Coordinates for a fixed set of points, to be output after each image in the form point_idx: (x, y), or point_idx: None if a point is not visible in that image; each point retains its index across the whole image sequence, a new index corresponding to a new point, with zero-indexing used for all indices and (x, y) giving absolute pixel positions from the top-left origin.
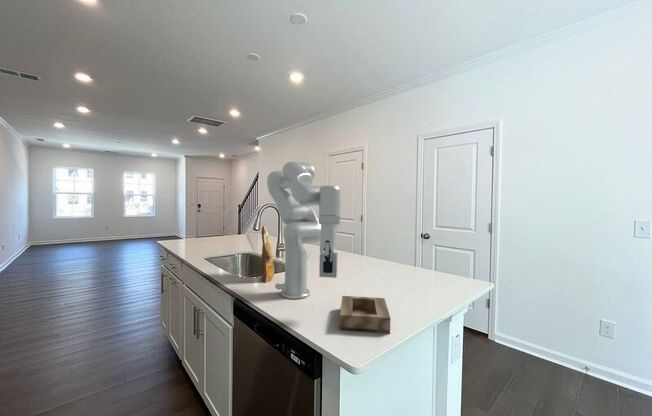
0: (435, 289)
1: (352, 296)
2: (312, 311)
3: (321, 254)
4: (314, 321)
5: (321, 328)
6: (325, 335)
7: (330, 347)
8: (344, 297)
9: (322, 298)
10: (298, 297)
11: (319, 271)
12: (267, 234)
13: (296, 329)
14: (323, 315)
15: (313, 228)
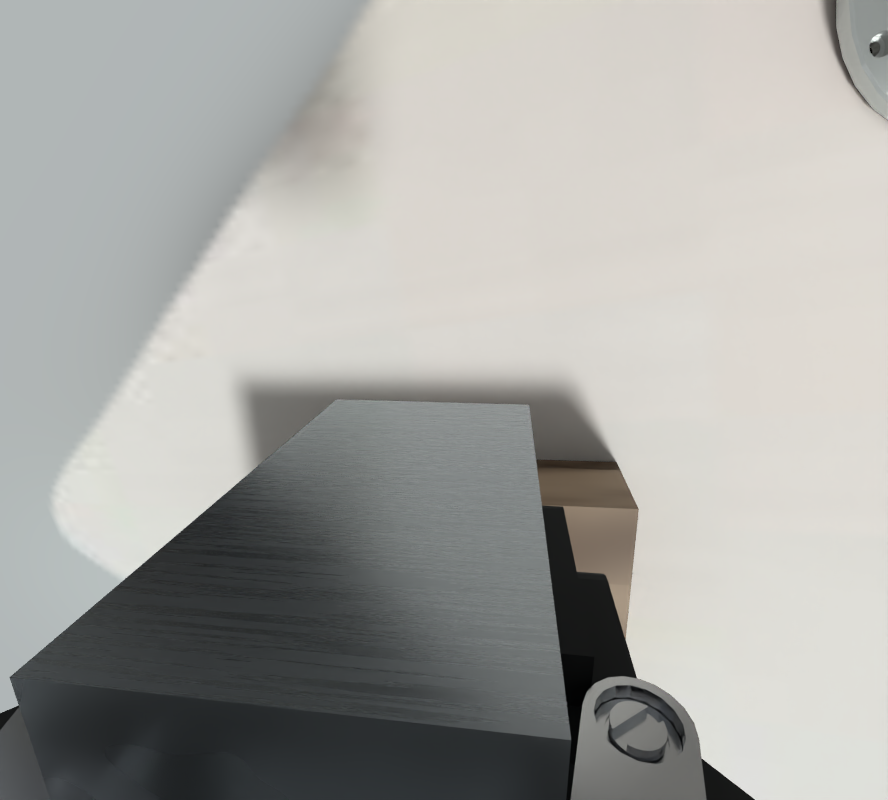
0: None
1: (626, 584)
2: (538, 254)
3: (36, 735)
4: (374, 297)
5: (294, 354)
6: (224, 384)
7: (126, 416)
8: (595, 525)
9: (852, 295)
10: (845, 43)
11: (306, 427)
12: None
13: (241, 202)
14: (478, 345)
15: None
